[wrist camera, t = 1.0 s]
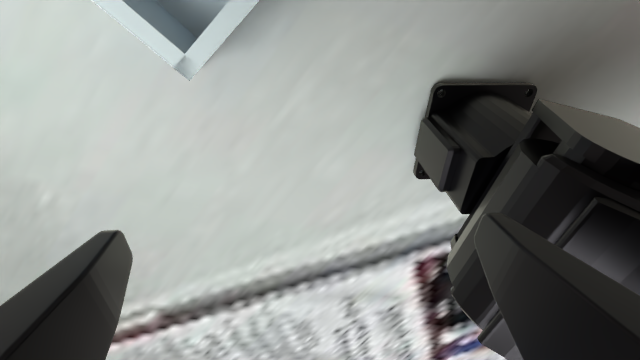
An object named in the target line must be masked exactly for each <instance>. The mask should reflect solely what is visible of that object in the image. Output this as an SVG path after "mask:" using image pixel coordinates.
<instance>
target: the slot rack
mask: <svg viewBox="0 0 640 360" xmlns="http://www.w3.org/2000/svg"><path fill="white" fill-rule="evenodd" d="M91 1H92V2H94V3H95V4H96V5H97V6H99V7H100V8H101V9H102V10H103V11H105V12H106V13H107V14H108V15H110V16H111V17H112V18H113V19H114V20H116V21H117V22H118V23H119V24H121V25H122V26H123V27H124V28H125V29H127V30H128V31H129V32H130V33H132V34H133V35H134V36H135V37H136V38H138V39H139V40H140V41H141V42H143V43H144V44H145V45H146V46H147V47H149V48H150V49H151V50H152V51H154V52H155V53H156V54H157V55H158V56H160V57H161V58H162V59H163V60H165V61H166V62H167V63H168V64H169V65H171V66H172V67H173V68H174V69H175V70H177V71H178V72H179V73H180V74H182V75H183V76H184V77H185V78H186V79H188V80H189V81H190V80H191V79H192V78H193V76H194V75H195V74H196V73H197V72H198V71H199V69H200V68H201V67H202V66H203V65H204V64H205V63H206V61H207V60H208V59H209V58H210V57H211V56H212V55H213V53H214V52H215V51H216V50H217V49H218V48H219V46H220V45H221V44H222V43H223V42H224V41H225V40H226V38H227V37H228V36H229V35H230V34H231V33H232V31H233V30H234V29H235V28H236V27H237V26H238V25H239V23H240V22H241V21H242V20H243V19H244V18H245V16H246V15H247V14H248V13H249V12H250V11H251V10H252V8H253V7H254V6H255V5H256V4H257V3H258V2H259V0H91Z"/></svg>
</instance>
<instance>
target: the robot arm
mask: <svg viewBox="0 0 640 360" xmlns="http://www.w3.org/2000/svg"><path fill="white" fill-rule="evenodd" d="M442 89H443V92H442V94H441V95H437V93H438V91H440V90H442ZM528 89H529V91H528V93H527V94H525V92H526V91H527V90H528ZM536 93H537V88H536V86H534V85H532V84H531V83H438V84H436V85H434V87H433V88H432V90H431V93H430V97H429V102H428V106H427V111H426V115H425V117H424V118H423V120H422V121H421V125H420V129H419V134H418V139H417V143H416V148H415V153H414V155H415V157H416V161H415V165H414V170H413V173H414V174H415V176H416V178H418V179H431V180H432V182H433V183H434V185H435V186H436V187H437V189H438V190H439V191H440V192H446V193H447V194H448V196H449V197H450V198H451V200H452V201H453V203H454V204H455V205H456V207H457V208H458V210H459V211H460V212H461V214H470V215H469V216H468V218H467V220H466V221H465V223H464V225H463V226H462V228H461V229H460V231H459V233H458V234H455V235H454V237H453V239H452V240H451V249H452V250H451V252H450V253H449V255H448V261H447V270H448V273H449V276H450V280H451V283H452V285H453V287H452V288H451V294H452V296H453V297H454V299H455V300H456V302H457V303H458V305H459V306H460V308H461V309H462V310H463V311H464V313H465V314H466V315H467V316H468V317H469V318H470V319H471V320H472V321H473V322H474V323H475V324H476V325H477V326H478V327H480V328H481V329H482V330H483V331H482V332H481V334H480V335H479V336H478V340H479V342H480V343H481V344H483V345H484V346H486V347H488V348H489V349H491V350H493V351H494V352H496V353H498V354H500V355H501V356H503V357H505V358H506V359H507V360H640V128H638V127H636V126H634V125H631V124H629V123H627V122H624V121H622V120H619V119H616V118H613V117H609V116H605V115H601V114H597V113H593V112H589V111H585V110H581V109H577V108H573V107H569V106H565V105H561V104H557V103H553V102H549V101H545V100H541V99H538V101H537V103H536V104H535V106H534V107H533V109H532V111H533V114H531V113H530V112H529V111H530V108H531V106H532V103H533V100H534V98H535V95H536ZM421 170H424V171H423V172H422V173H419V172H420V171H421ZM132 260H133V258H132V252H131V250H130V248H129V245H128V243H127V241H126V239H125V236H124V234H123V233H122V232H121V231H119V230H107V231H101V232H99V233H98V234H96V235H95V236H94V237H92V238H91V239H90V240H88V241H87V242H86V243H84V244H83V245H81V246H80V247H79V248H77V249H76V250H75V251H73V252H72V253H71V254H69V255H68V256H67V257H65V258H64V259H63V260H61V261H60V262H59V263H57V264H56V265H55V266H53V267H52V268H51V269H49V270H48V271H46V272H45V273H44V274H42V275H41V276H40V277H38V278H37V279H36V280H34V281H33V282H32V283H30V284H29V285H28V286H26V287H25V288H24V289H22V290H21V291H20V292H18V293H17V294H16V295H14V296H13V297H11V298H10V299H9V300H7V301H6V302H5V303H3V304H2V305H1V306H0V360H105V359H106V356H107V353H108V351H109V348H110V345H111V342H112V339H113V337H114V334H115V331H116V328H117V325H118V321H119V317H120V314H121V309H122V305H123V301H124V296H125V292H126V288H127V283H128V279H129V275H130V270H131V266H132Z"/></svg>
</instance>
